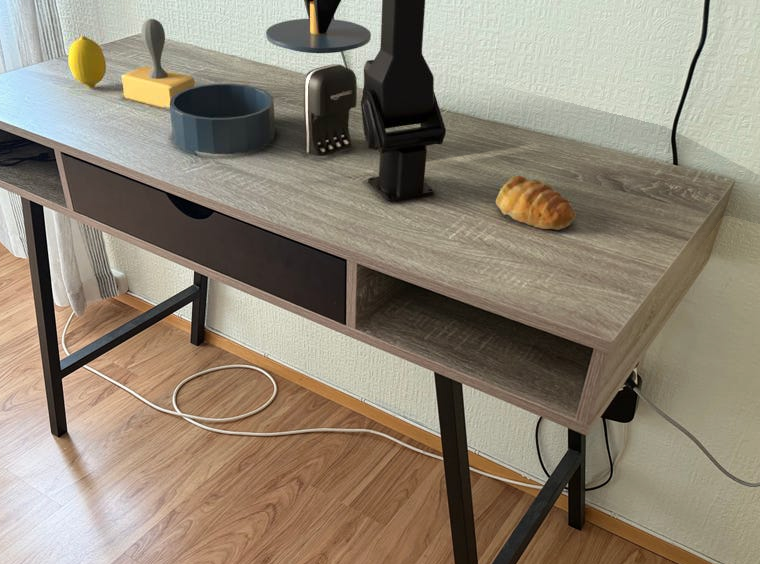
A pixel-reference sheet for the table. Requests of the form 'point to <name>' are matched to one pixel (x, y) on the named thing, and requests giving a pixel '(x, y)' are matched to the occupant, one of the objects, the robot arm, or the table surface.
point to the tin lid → (317, 35)
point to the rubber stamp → (154, 72)
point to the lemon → (87, 61)
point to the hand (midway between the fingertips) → (318, 30)
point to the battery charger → (328, 108)
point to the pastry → (534, 204)
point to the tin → (222, 135)
